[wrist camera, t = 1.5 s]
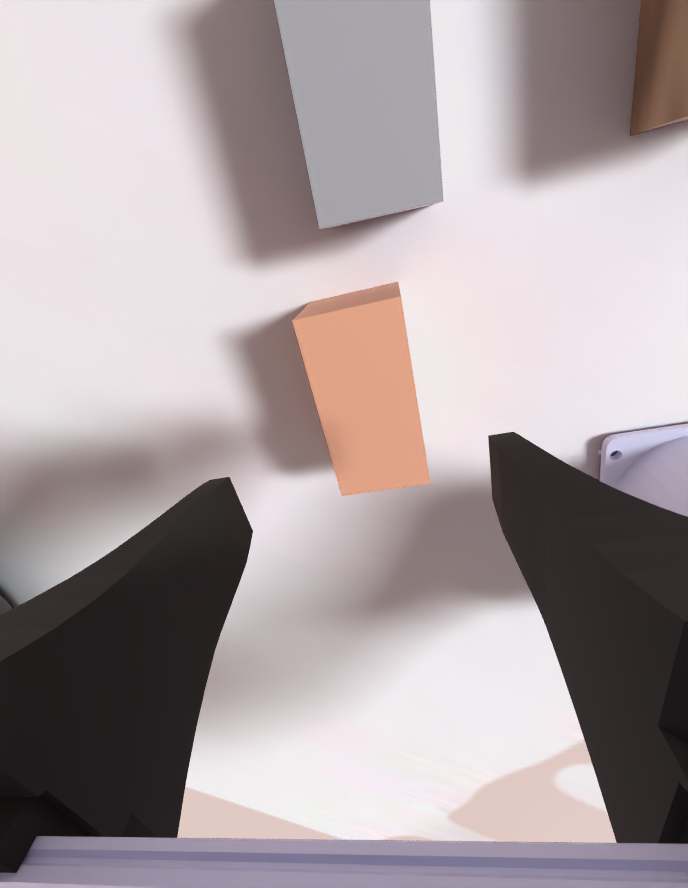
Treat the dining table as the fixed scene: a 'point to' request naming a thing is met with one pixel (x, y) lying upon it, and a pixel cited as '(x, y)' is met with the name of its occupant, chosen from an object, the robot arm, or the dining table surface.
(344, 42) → the slate-grey brick
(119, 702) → the robot arm
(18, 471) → the dining table surface
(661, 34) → the walnut brick
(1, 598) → the coal bowl
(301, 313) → the terracotta brick
